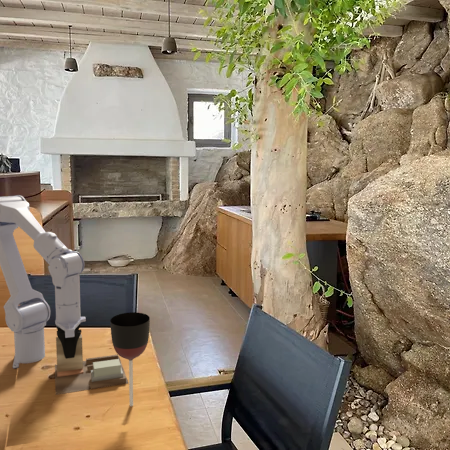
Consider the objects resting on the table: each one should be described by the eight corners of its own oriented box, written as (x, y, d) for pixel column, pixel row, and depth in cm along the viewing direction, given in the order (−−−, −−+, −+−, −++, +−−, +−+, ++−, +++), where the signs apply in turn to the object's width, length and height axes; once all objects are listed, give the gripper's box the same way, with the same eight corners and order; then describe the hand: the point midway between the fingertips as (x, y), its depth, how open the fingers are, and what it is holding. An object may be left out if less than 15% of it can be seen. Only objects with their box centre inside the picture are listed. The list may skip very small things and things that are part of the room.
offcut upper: (93, 370, 107) (92, 362, 107) (118, 366, 110) (118, 358, 109) (94, 377, 104) (94, 368, 104) (120, 373, 106) (120, 365, 106)
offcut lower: (91, 378, 108) (90, 370, 107) (120, 373, 110) (120, 366, 110) (92, 386, 104) (92, 377, 104) (123, 381, 106) (123, 373, 106)
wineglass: (152, 399, 101) (152, 312, 98) (147, 420, 92) (146, 326, 89) (116, 399, 100) (115, 312, 98) (108, 421, 92) (106, 326, 89)
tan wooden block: (57, 368, 112) (55, 337, 111) (82, 364, 114) (81, 334, 113) (57, 372, 110) (56, 340, 109) (82, 368, 112) (82, 337, 111)
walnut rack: (55, 368, 115) (54, 360, 114) (118, 359, 120) (118, 351, 120) (55, 398, 100) (55, 389, 100) (128, 387, 106) (128, 378, 105)
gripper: (87, 309, 105) (88, 364, 106) (83, 292, 118) (84, 342, 120) (54, 312, 102) (56, 369, 104) (54, 295, 115) (56, 345, 117)
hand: (69, 355), depth 112 cm, fingers closed on tan wooden block, 2 cm apart
